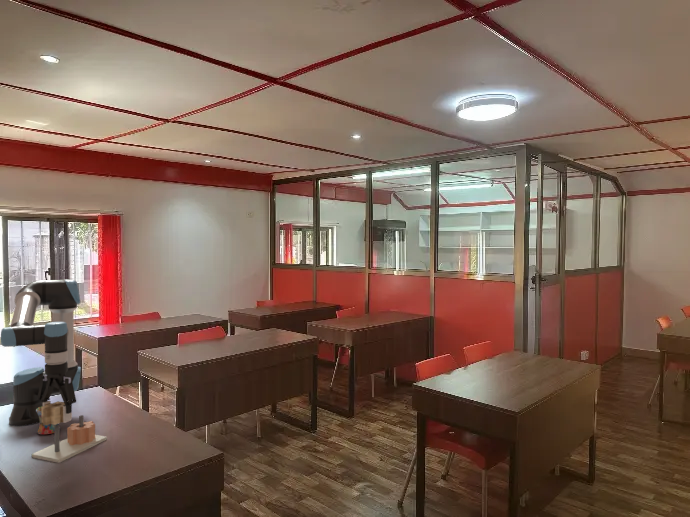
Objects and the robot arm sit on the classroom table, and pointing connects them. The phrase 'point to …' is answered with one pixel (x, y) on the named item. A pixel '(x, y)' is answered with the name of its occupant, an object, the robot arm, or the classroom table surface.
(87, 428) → the gear board
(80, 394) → the classroom table surface
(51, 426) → the mug
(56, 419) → the gear
